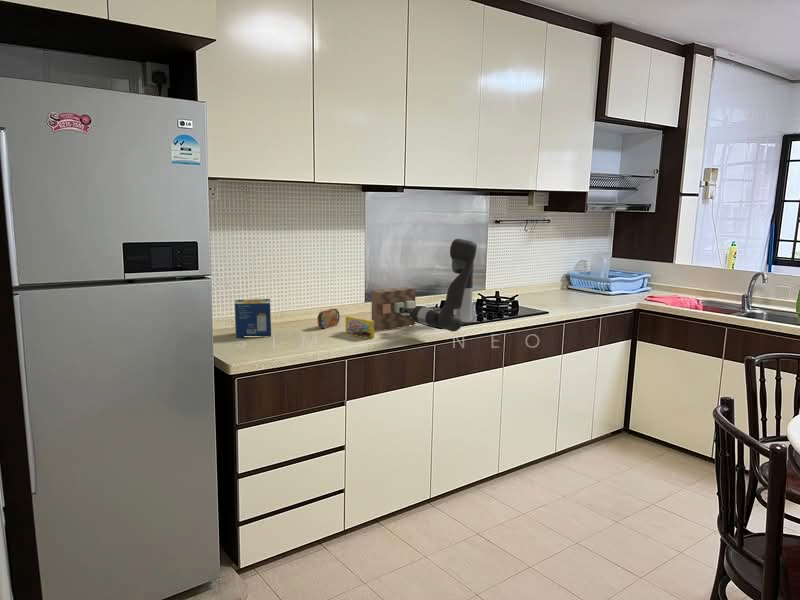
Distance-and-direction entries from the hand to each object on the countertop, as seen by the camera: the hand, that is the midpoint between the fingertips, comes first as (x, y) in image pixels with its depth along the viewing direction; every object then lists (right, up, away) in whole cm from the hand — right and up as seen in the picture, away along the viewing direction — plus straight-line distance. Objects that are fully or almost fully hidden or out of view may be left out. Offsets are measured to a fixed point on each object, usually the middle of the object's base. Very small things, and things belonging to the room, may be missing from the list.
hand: (400, 309), depth 274 cm
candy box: (-18, -12, -11) cm, 24 cm away
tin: (-35, -9, +8) cm, 37 cm away
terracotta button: (-7, -2, +2) cm, 8 cm away
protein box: (-66, -12, -10) cm, 68 cm away
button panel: (-3, -8, +10) cm, 13 cm away
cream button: (+5, -1, +10) cm, 11 cm away
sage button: (-1, -1, +5) cm, 5 cm away
